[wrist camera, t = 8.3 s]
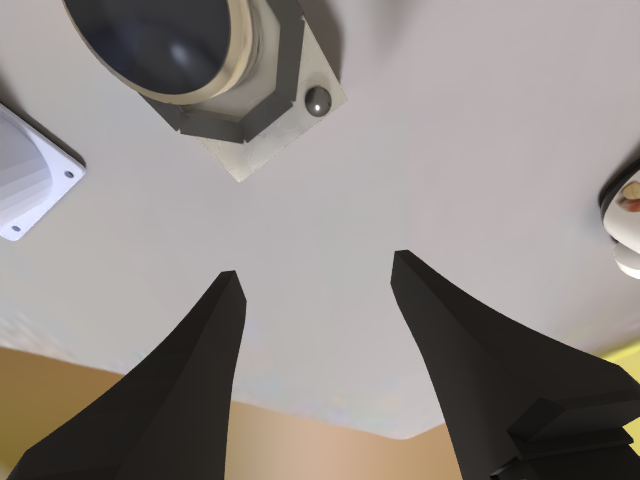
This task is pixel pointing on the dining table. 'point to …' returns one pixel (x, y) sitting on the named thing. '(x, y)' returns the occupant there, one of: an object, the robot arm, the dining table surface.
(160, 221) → the dining table surface
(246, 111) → the white knob box
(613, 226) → the spread jar
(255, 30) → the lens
